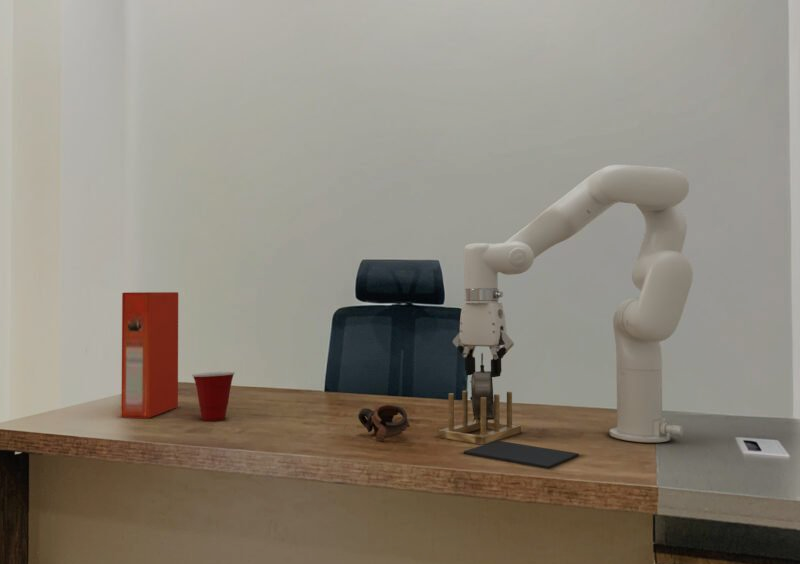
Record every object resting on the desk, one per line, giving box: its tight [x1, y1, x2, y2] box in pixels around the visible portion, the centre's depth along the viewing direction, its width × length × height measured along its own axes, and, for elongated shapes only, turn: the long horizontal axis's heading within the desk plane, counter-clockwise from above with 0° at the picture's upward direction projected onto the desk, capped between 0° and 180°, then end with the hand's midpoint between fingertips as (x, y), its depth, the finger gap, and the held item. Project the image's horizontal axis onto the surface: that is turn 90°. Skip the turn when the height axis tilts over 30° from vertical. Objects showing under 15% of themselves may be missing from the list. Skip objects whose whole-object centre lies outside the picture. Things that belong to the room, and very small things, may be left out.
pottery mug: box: [357, 403, 410, 442], centre depth 159 cm, size 12×10×8 cm
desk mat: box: [463, 440, 580, 470], centre depth 143 cm, size 18×14×1 cm
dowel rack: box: [438, 390, 522, 445], centre depth 163 cm, size 11×18×10 cm, turn 139°
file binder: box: [120, 291, 179, 419], centre depth 190 cm, size 8×17×32 cm, turn 168°
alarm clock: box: [469, 352, 494, 427], centre depth 163 cm, size 11×5×16 cm, turn 167°
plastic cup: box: [191, 371, 235, 422], centre depth 180 cm, size 11×11×12 cm
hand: (483, 374), depth 163 cm, fingers closed on alarm clock, 5 cm apart
